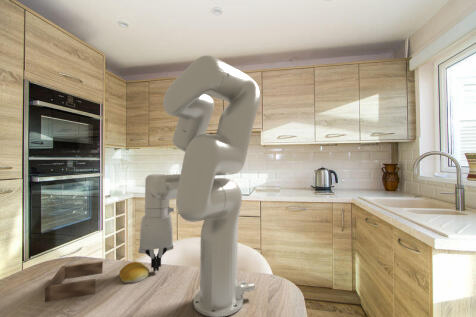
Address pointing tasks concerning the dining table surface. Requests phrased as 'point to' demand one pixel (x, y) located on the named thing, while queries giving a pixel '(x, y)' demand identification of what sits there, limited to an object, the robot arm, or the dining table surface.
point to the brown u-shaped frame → (74, 288)
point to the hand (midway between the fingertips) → (155, 269)
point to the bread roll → (133, 272)
